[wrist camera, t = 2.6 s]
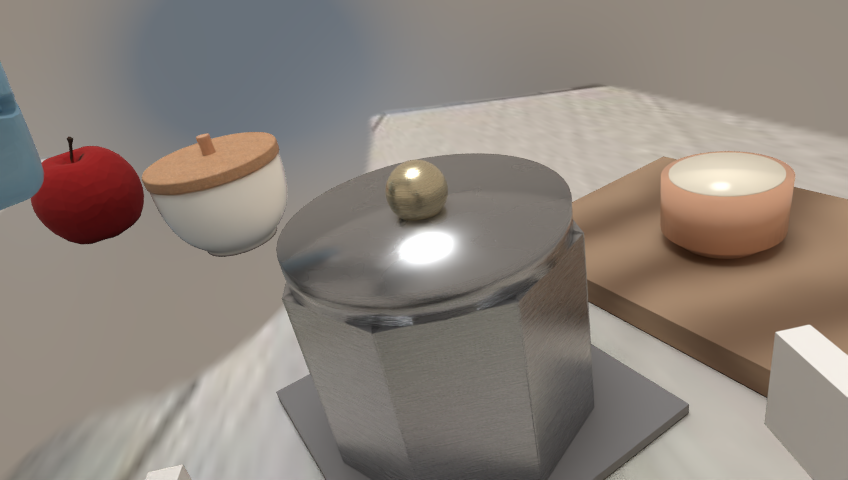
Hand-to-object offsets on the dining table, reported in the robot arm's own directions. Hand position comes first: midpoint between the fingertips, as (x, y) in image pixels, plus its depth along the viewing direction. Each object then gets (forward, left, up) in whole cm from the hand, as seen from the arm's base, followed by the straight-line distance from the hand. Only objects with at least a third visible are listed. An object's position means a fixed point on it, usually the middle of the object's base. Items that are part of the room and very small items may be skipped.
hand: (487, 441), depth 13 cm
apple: (-53, -8, -10) cm, 55 cm away
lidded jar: (-39, +2, -10) cm, 40 cm away
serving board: (-9, +23, -10) cm, 26 cm away
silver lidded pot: (-10, +5, -9) cm, 14 cm away
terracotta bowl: (-9, +23, -8) cm, 26 cm away
